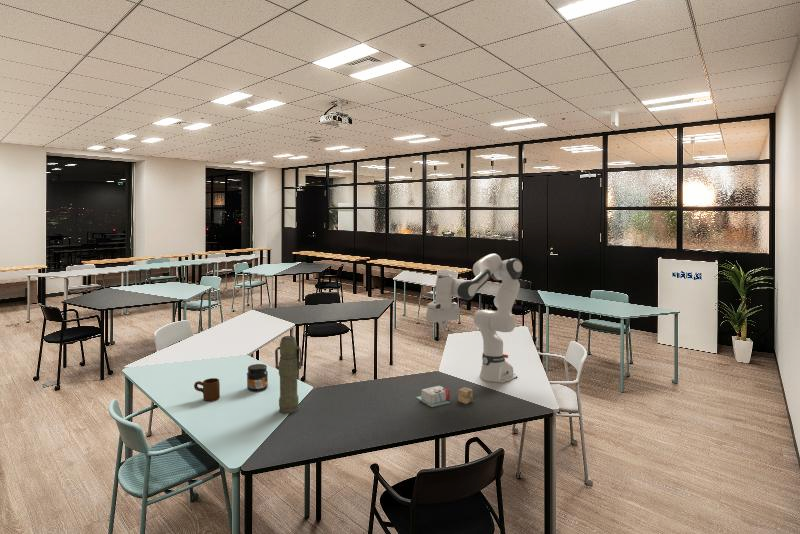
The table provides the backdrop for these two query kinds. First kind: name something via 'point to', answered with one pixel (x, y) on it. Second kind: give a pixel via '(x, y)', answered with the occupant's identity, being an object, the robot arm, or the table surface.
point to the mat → (433, 403)
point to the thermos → (288, 374)
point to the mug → (209, 389)
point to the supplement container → (257, 377)
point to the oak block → (465, 395)
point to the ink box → (435, 394)
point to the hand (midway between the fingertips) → (442, 329)
